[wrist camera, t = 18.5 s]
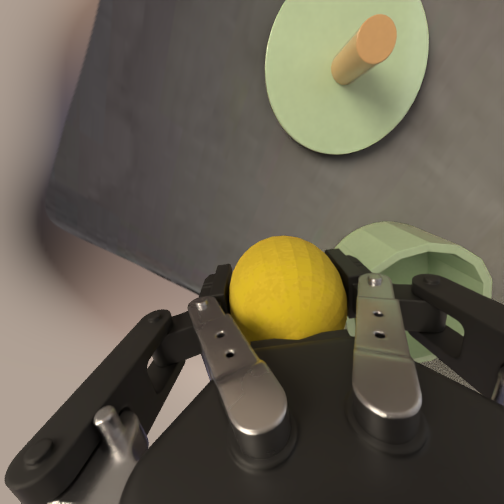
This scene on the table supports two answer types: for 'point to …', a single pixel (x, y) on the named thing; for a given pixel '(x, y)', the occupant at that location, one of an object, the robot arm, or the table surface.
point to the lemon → (286, 291)
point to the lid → (345, 69)
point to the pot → (415, 265)
